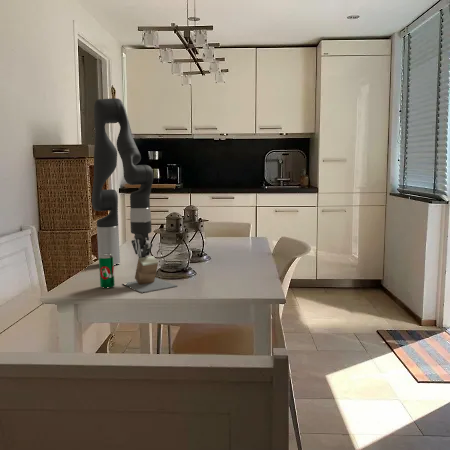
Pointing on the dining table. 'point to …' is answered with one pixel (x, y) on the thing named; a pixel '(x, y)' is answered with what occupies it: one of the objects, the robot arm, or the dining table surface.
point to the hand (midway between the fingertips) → (142, 266)
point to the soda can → (106, 270)
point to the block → (146, 270)
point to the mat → (151, 285)
